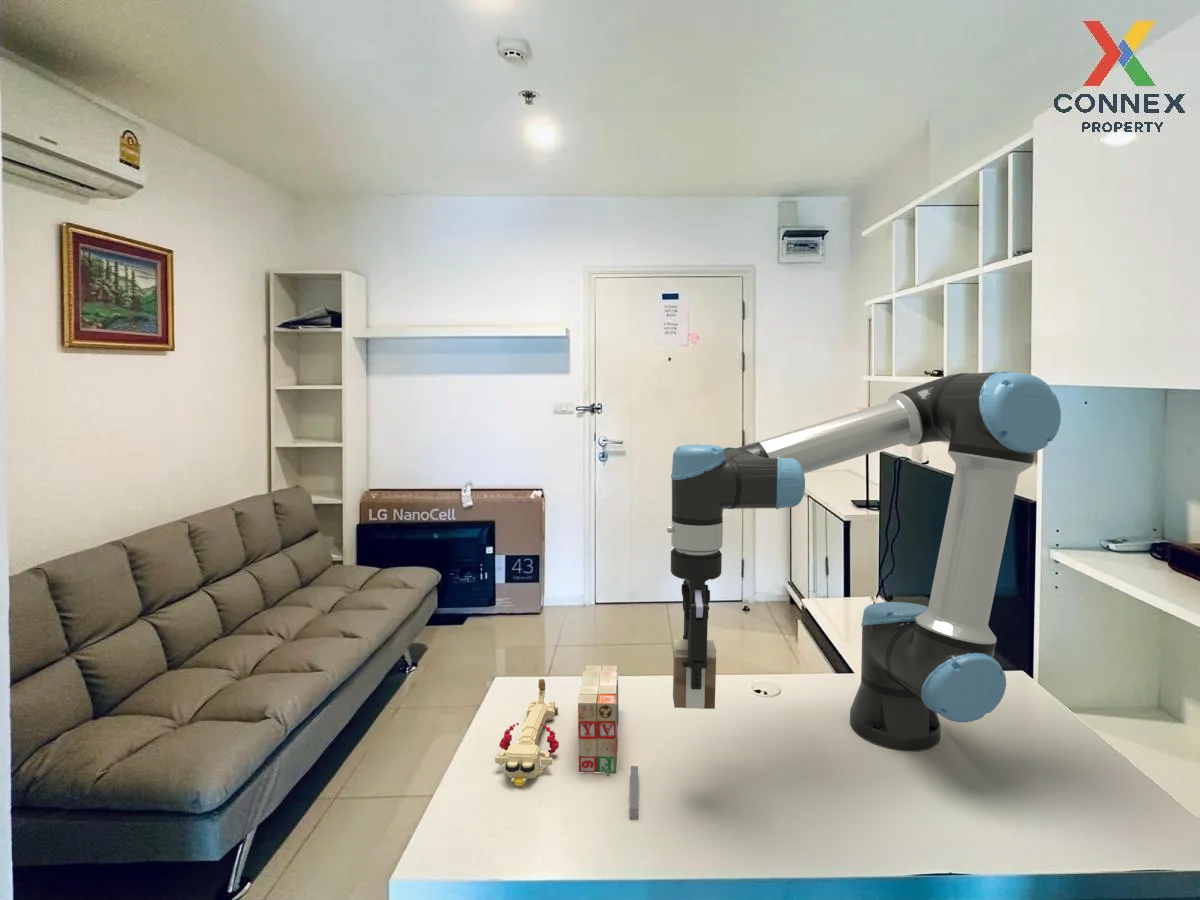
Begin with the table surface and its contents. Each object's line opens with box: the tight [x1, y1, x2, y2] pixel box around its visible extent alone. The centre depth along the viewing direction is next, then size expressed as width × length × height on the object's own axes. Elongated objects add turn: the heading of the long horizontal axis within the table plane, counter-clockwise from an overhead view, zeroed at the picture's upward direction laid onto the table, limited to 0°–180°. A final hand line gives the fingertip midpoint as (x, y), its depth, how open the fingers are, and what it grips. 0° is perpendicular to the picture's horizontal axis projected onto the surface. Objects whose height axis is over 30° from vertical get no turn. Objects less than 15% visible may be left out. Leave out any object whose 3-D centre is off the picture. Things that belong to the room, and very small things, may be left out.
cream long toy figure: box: [494, 678, 560, 787], centre depth 118 cm, size 10×9×25 cm
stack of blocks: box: [577, 665, 620, 774], centre depth 121 cm, size 21×6×12 cm, turn 178°
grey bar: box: [629, 765, 639, 820], centre depth 104 cm, size 1×11×2 cm, turn 177°
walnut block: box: [672, 638, 717, 710], centre depth 103 cm, size 6×4×9 cm, turn 87°
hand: (693, 699), depth 103 cm, fingers closed on walnut block, 4 cm apart
